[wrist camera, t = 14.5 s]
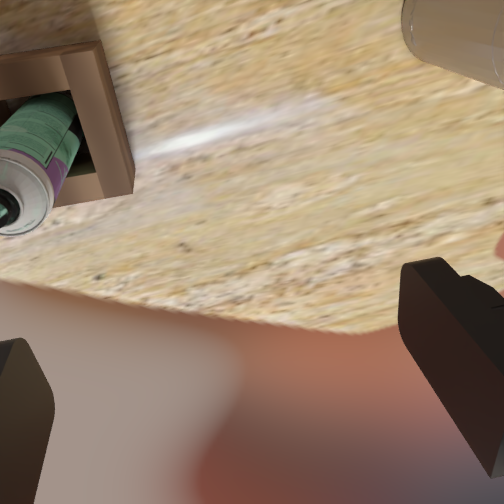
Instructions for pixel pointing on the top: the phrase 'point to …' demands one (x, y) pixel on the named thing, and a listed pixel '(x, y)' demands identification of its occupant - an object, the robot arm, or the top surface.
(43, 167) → the spray can
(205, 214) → the top surface
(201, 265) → the top surface
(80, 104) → the walnut holder
